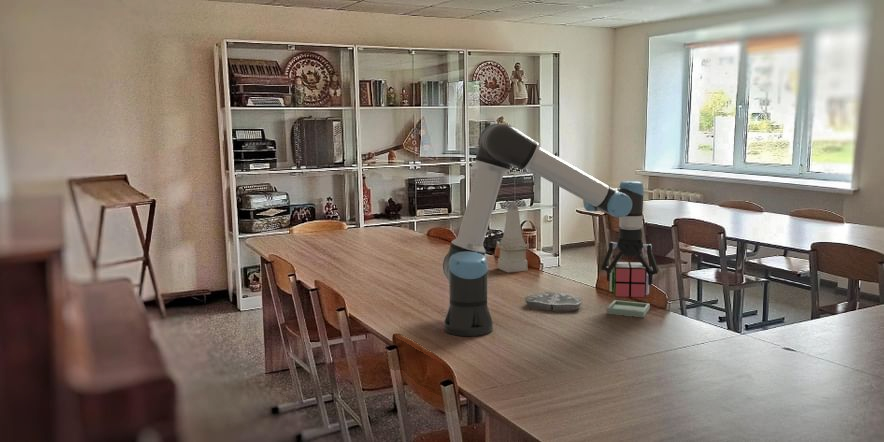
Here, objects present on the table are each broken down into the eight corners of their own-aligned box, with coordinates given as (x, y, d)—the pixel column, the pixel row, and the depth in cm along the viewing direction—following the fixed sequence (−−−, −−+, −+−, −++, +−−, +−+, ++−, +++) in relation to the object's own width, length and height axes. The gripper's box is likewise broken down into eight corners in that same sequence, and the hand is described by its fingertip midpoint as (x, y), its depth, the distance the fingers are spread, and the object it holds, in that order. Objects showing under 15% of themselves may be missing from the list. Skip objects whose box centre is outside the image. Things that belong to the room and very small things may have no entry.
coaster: (643, 317, 226) (643, 312, 226) (606, 313, 231) (606, 308, 231) (649, 308, 237) (649, 303, 237) (614, 305, 242) (614, 300, 242)
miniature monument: (529, 270, 300) (529, 201, 296) (507, 272, 296) (507, 203, 292) (517, 266, 310) (518, 199, 306) (496, 268, 306) (496, 200, 302)
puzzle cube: (645, 298, 227) (646, 268, 226) (614, 297, 229) (614, 267, 228) (643, 291, 237) (644, 262, 236) (613, 290, 239) (613, 261, 238)
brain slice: (584, 302, 248) (584, 294, 247) (580, 314, 231) (580, 306, 231) (529, 299, 253) (529, 291, 252) (522, 311, 237) (522, 302, 236)
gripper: (669, 228, 228) (667, 293, 231) (597, 224, 238) (596, 286, 242) (665, 231, 222) (663, 298, 225) (592, 227, 232) (591, 291, 235)
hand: (629, 292), depth 233 cm, fingers closed on puzzle cube, 11 cm apart
